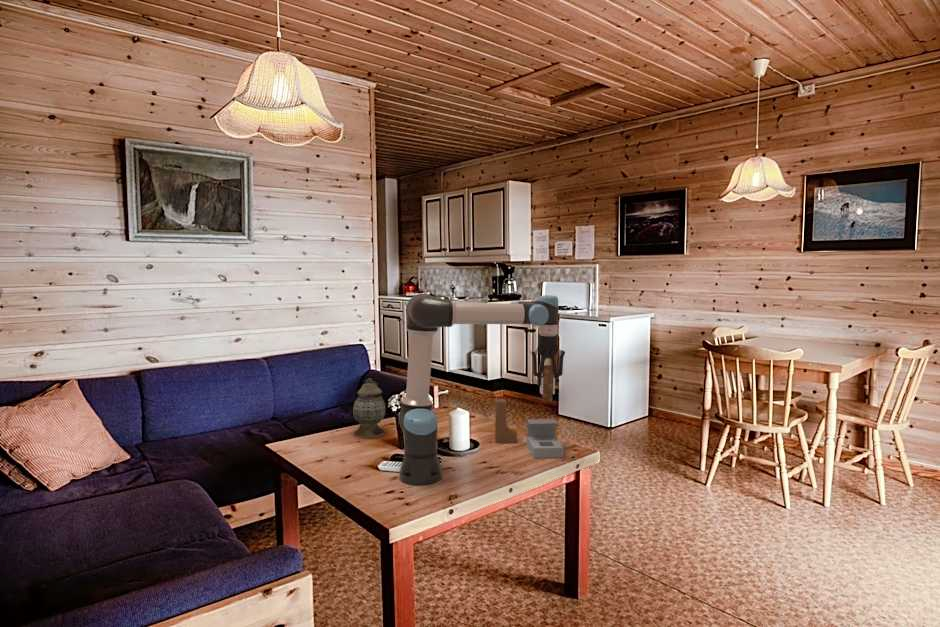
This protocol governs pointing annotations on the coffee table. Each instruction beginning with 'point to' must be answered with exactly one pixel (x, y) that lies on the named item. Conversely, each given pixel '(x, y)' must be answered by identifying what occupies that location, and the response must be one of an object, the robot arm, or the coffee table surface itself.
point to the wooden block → (503, 424)
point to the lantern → (369, 410)
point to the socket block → (543, 439)
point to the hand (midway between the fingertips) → (547, 393)
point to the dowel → (547, 383)
